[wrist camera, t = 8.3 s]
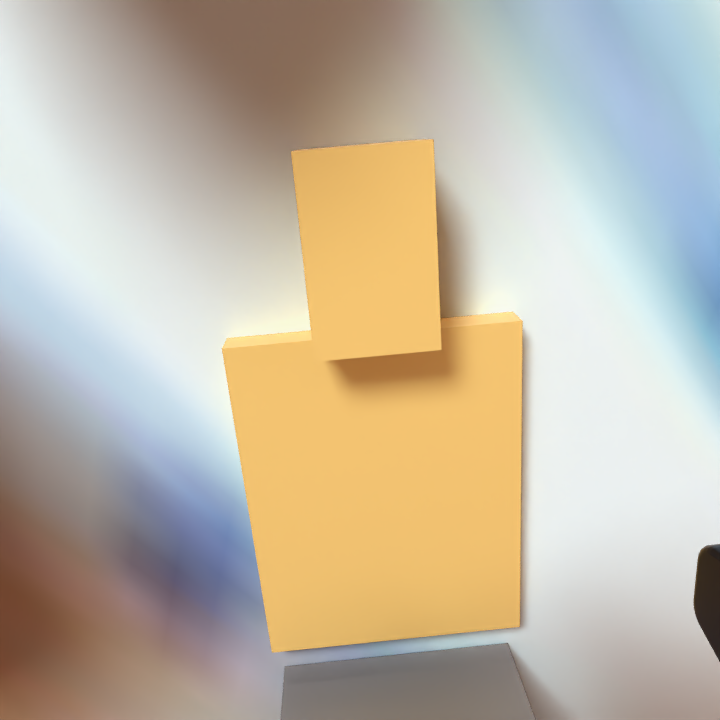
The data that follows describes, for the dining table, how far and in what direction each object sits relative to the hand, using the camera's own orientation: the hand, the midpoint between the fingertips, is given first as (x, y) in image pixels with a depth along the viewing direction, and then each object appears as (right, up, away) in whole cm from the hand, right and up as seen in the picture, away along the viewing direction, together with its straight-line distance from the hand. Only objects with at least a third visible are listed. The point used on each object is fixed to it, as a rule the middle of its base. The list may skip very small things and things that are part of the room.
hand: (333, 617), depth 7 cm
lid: (+1, +1, +12) cm, 12 cm away
